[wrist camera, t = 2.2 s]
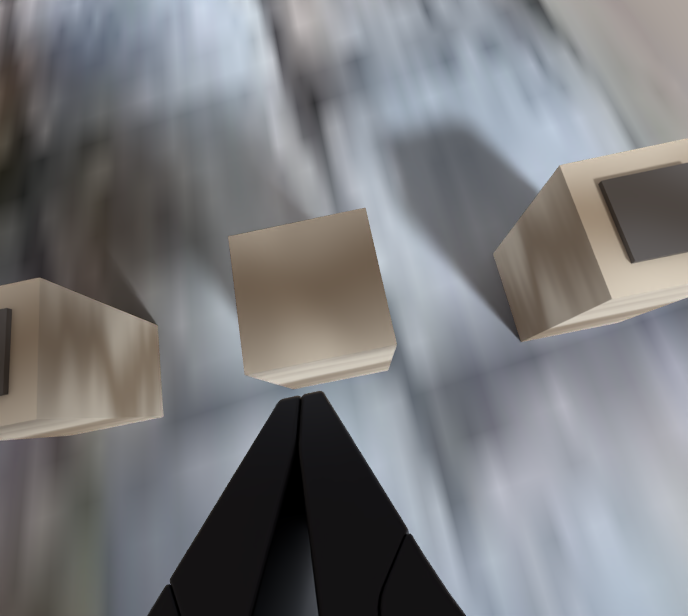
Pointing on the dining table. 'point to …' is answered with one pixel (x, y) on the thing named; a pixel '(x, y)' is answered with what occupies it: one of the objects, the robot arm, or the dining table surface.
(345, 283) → the plain block
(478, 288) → the dining table surface
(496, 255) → the marked block 1
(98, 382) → the marked block 2
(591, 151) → the dining table surface
